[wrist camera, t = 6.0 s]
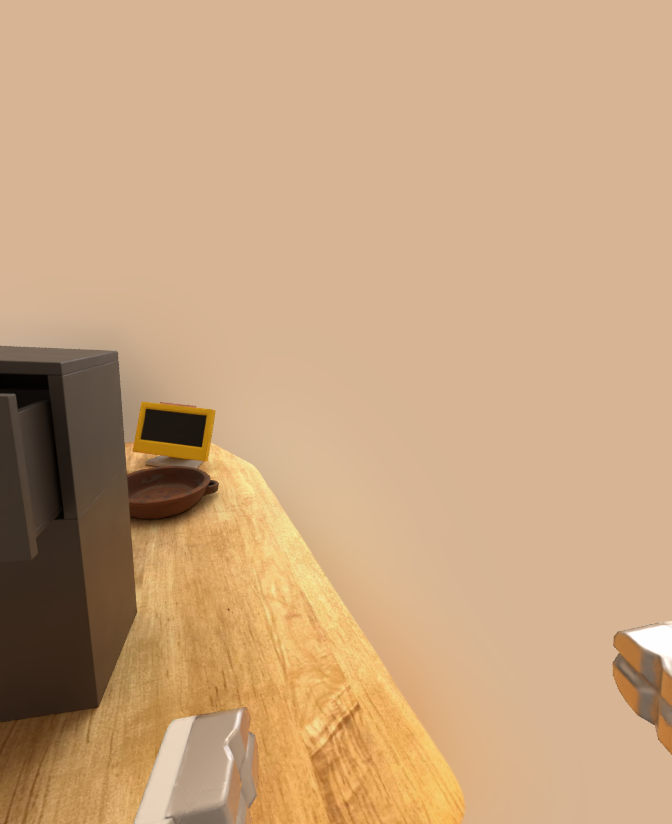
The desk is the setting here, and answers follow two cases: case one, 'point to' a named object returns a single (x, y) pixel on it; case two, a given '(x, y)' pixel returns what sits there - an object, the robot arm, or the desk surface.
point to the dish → (166, 490)
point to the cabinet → (70, 544)
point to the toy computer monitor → (174, 434)
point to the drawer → (26, 471)
